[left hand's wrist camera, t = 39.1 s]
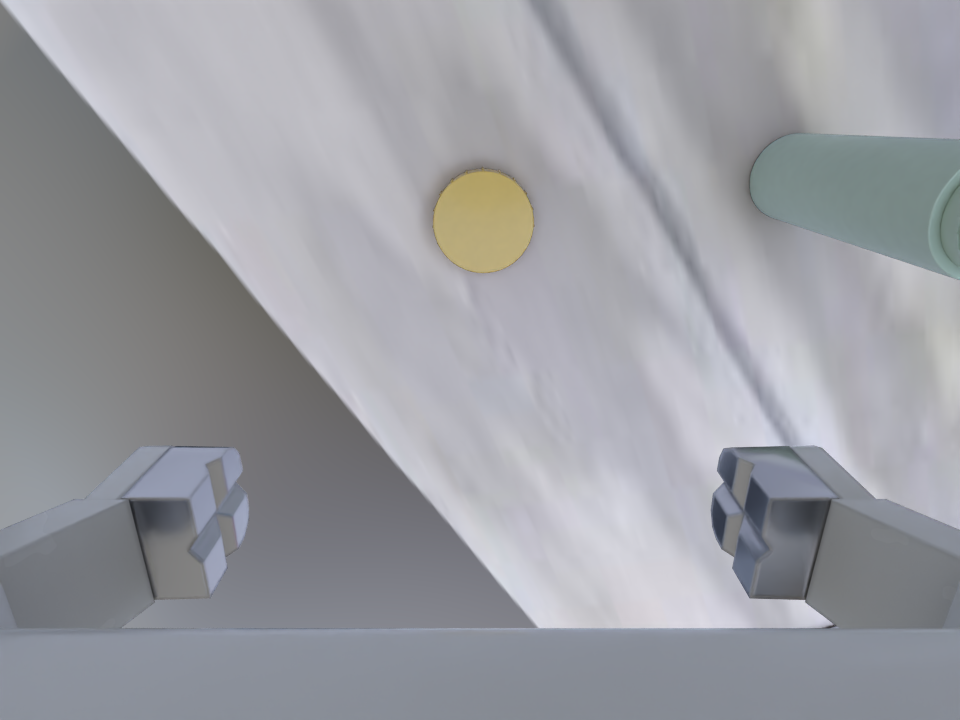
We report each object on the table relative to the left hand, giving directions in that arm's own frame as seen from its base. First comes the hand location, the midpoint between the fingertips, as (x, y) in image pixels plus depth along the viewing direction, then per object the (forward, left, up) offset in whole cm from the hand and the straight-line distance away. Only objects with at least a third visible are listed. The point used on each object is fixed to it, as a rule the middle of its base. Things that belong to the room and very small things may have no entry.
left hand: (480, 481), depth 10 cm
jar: (-17, +6, -28) cm, 34 cm away
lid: (0, 0, -27) cm, 27 cm away
